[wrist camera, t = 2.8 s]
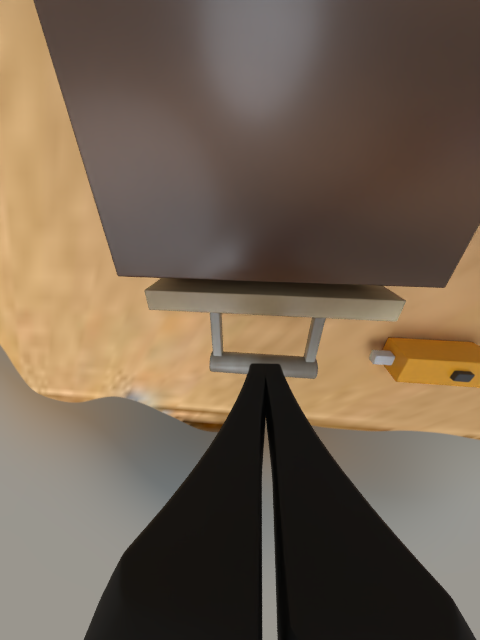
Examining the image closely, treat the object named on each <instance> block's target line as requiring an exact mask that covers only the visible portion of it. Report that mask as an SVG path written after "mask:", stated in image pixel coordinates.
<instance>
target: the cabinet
mask: <svg viewBox="0 0 480 640" xmlns="http://www.w3.org/2000/svg"><path fill="white" fill-rule="evenodd" d="M34 3H35V7H36V10H37V13H38V16H39V20H40V23H41V26H42V29H43V33H44V36H45V39H46V43H47V46H48V49H49V52H50V56H51V59H52V62H53V65H54V69H55V72H56V75H57V79H58V82H59V85H60V88H61V92H62V95H63V98H64V101H65V105H66V108H67V111H68V115H69V118H70V121H71V124H72V128H73V131H74V134H75V137H76V141H77V144H78V147H79V151H80V154H81V157H82V160H83V164H84V167H85V170H86V173H87V177H88V180H89V183H90V187H91V190H92V193H93V196H94V200H95V203H96V206H97V209H98V213H99V216H100V219H101V223H102V226H103V229H104V232H105V236H106V239H107V242H108V245H109V249H110V252H111V255H112V259H113V262H114V265H115V268H116V272H117V275H118V276H125V277H153V278H182V279H210V280H238V281H267V282H295V283H323V284H351V285H380V286H408V287H436V288H444V287H446V285H447V283H448V281H449V279H450V277H451V276H452V274H453V272H454V270H455V268H456V266H457V265H458V263H459V261H460V259H461V257H462V255H463V254H464V252H465V250H466V248H467V246H468V244H469V243H470V241H471V239H472V237H473V235H474V233H475V231H476V230H477V228H478V226H479V224H480V0H34Z"/></svg>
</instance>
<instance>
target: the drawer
mask: <svg viewBox="0 0 480 640" xmlns="http://www.w3.org/2000/svg"><path fill="white" fill-rule="evenodd" d="M145 295H146V299H147V303H148V307H149V309H150V310H169V311H190V312H210V320H211V333H212V346H213V351H212V353H211V356H210V371H212V372H225V373H239V374H248V371H249V367H250V365H251V364H252V363H269V364H280V365H281V368H282V371H283V374H284V376H285V377H295V378H309V379H315V378H316V377H317V372H318V365H317V361H316V354H317V350H318V346H319V342H320V338H321V334H322V330H323V326H324V322H325V318H334V319H355V320H376V321H397V320H398V318H399V315H400V313H401V311H402V309H403V307H404V305H405V302H406V301H405V300H404V299H402V298H401V297H399V296H398V295H396V294H395V293H393V292H392V291H390V290H388V289H387V288H385V287H384V286H380V285H351V284H323V283H295V282H267V281H238V280H210V279H182V278H161V279H160V280H158V281H157V282H155V283H154V284H153V285H151V286H150V287H148V288H147V289H146V290H145ZM221 313H231V314H252V315H272V316H293V317H312V320H311V325H310V329H309V334H308V339H307V344H306V348H305V353H304V357H300V356H285V355H269V354H253V353H237V352H223V335H222V314H221Z"/></svg>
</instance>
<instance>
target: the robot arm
mask: <svg viewBox="0 0 480 640" xmlns="http://www.w3.org/2000/svg"><path fill="white" fill-rule="evenodd" d="M265 419H266V421H267V422H266V423H267V432H268V440H269V450H270V459H271V469H272V481H273V505H274V506H273V508H274V537H275V568H276V598H277V599H276V600H277V629H278V630H277V632H278V640H476V638H475V637H474V635H473V633H472V631H471V630H470V628H469V626H468V625H467V623H466V621H465V619H464V618H463V616H462V614H461V612H460V611H459V609H458V607H457V606H456V604H455V602H454V601H453V599H452V598H451V596H450V595H449V594H448V593H447V592H446V591H445V589H444V588H443V587H442V586H441V585H440V584H439V583H438V582H437V581H436V580H435V578H434V577H433V576H432V575H431V574H430V573H429V572H428V571H427V570H426V569H425V568H424V566H423V565H422V564H421V563H420V562H419V561H418V560H417V559H416V557H415V556H414V555H413V554H412V553H411V552H410V551H409V550H408V549H407V547H406V546H405V545H404V544H403V543H402V542H401V541H400V539H399V538H398V537H397V536H396V535H395V534H394V533H393V532H392V530H391V529H390V528H389V527H388V526H387V524H386V523H385V522H384V521H383V520H382V519H381V517H380V516H379V515H378V514H377V513H376V511H375V510H374V509H373V508H372V507H371V506H370V504H369V503H368V502H367V501H366V499H365V498H364V497H363V496H362V494H361V493H360V492H359V491H358V489H357V488H356V487H355V486H354V484H353V483H352V482H351V481H350V479H349V478H348V477H347V476H346V474H345V473H344V472H343V471H342V469H341V468H340V466H339V465H338V464H337V462H336V461H335V460H334V459H333V457H332V456H331V454H330V453H329V451H328V450H327V449H326V447H325V446H324V444H323V443H322V442H321V440H320V439H319V437H318V436H317V434H316V433H315V431H314V430H313V428H312V426H311V425H310V423H309V421H308V420H307V418H306V417H305V415H304V413H303V412H302V410H301V408H300V406H299V405H298V403H297V401H296V399H295V397H294V395H293V393H292V391H291V389H290V387H289V385H288V383H287V381H286V379H285V376H284V374H283V371H282V368H281V365H280V364H269V363H252V364H251V365H250V367H249V371H248V374H247V377H246V380H245V382H244V385H243V387H242V389H241V391H240V394H239V396H238V398H237V400H236V402H235V404H234V406H233V408H232V410H231V412H230V413H229V415H228V417H227V419H226V421H225V422H224V424H223V426H222V427H221V429H220V431H219V432H218V434H217V436H216V437H215V439H214V440H213V442H212V443H211V445H210V446H209V448H208V449H207V451H206V452H205V454H204V455H203V456H202V458H201V459H200V461H199V462H198V464H197V465H196V466H195V468H194V469H193V470H192V472H191V473H190V474H189V476H188V477H187V478H186V480H185V481H184V482H183V483H182V484H181V486H180V487H179V488H178V490H177V491H176V492H175V493H174V495H173V496H172V497H171V499H170V500H169V501H168V502H167V503H166V505H165V506H164V507H163V508H162V510H161V511H160V512H159V513H158V514H157V515H156V516H155V517H154V519H153V520H152V521H151V522H150V523H149V524H148V526H147V527H146V528H145V529H144V530H143V531H142V532H141V534H140V535H139V536H138V537H137V538H136V539H135V540H134V542H133V543H132V544H131V545H130V546H129V548H127V550H126V551H125V552H124V554H123V555H122V557H121V559H120V561H119V563H118V564H117V567H116V568H115V570H114V572H113V574H112V576H111V578H110V580H109V583H108V585H107V587H106V589H105V591H104V592H103V595H102V597H101V599H100V601H99V604H98V606H97V608H96V611H95V613H94V616H93V618H92V621H91V623H90V626H89V628H88V631H87V633H86V635H85V638H84V640H262V462H263V447H264V433H265Z"/></svg>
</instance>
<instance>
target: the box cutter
mask: <svg viewBox="0 0 480 640" xmlns="http://www.w3.org/2000/svg"><path fill="white" fill-rule="evenodd" d="M369 359H370V360H371V362H372V363H373V364H380V365H384V367H385V368H386V369H387V370H388V372H389V373H390V374H391V376H392V377H393V378H394V379H395V381H396V382H408V383H422V384H436V385H450V386H464V387H478V388H480V346H478V345H476V344H475V343H473V342H461V341H443V340H425V339H407V338H388V339H387V341H386V344H385V346H384V348H383V350H372V351H371V354H370V356H369Z"/></svg>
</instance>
